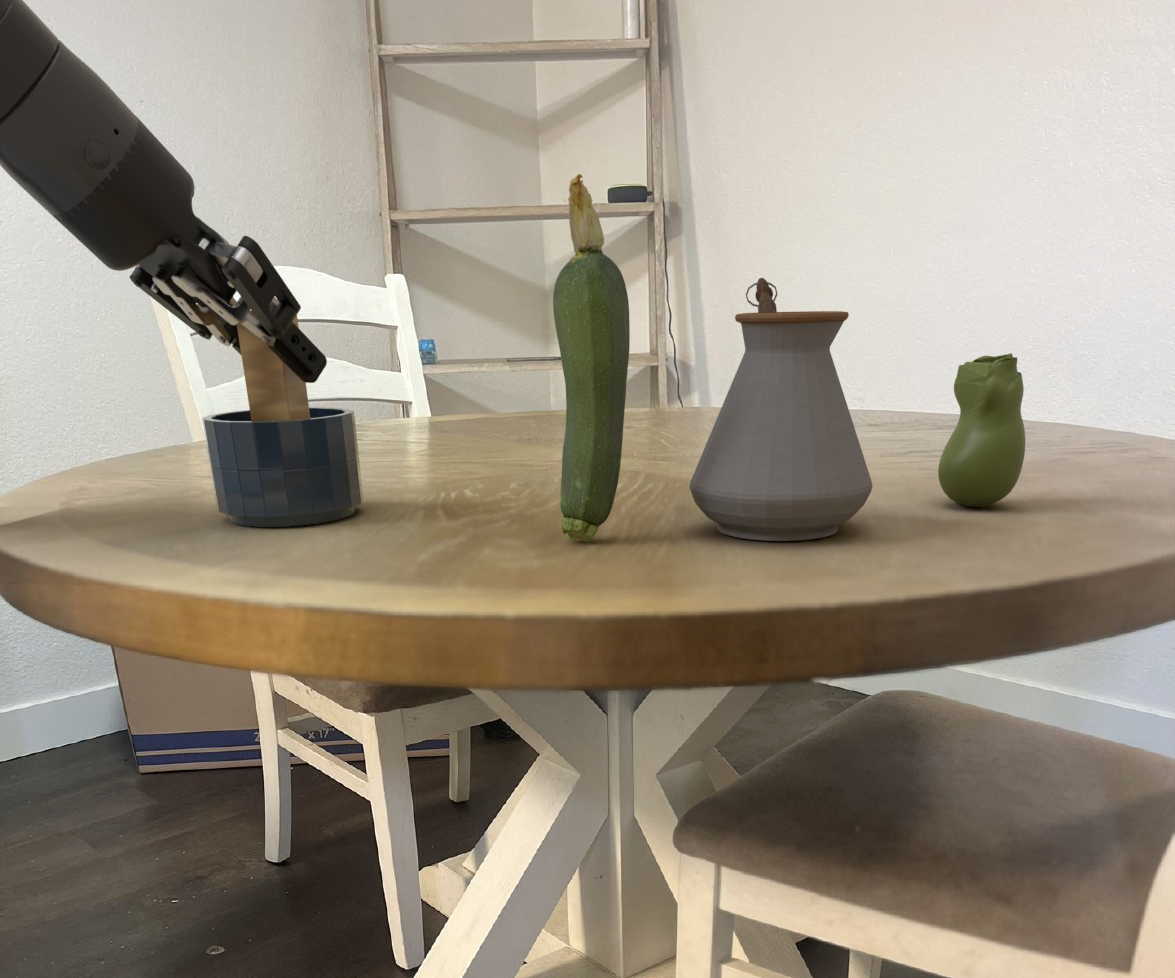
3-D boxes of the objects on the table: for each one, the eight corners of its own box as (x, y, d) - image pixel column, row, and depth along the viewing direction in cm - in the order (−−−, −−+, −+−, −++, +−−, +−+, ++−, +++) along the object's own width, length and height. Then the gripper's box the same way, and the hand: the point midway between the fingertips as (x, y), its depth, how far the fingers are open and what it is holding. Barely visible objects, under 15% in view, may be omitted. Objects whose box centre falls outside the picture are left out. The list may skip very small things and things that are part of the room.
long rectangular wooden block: (262, 495, 74) (234, 311, 69) (282, 489, 77) (256, 310, 72) (300, 496, 74) (275, 309, 69) (320, 489, 76) (296, 309, 71)
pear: (1031, 510, 72) (1055, 353, 67) (961, 515, 71) (982, 356, 66) (985, 497, 77) (1005, 350, 72) (919, 501, 76) (936, 352, 71)
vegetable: (596, 532, 68) (590, 181, 60) (645, 540, 66) (646, 174, 57) (546, 542, 66) (533, 176, 57) (595, 552, 63) (588, 169, 54)
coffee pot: (886, 547, 62) (913, 267, 56) (693, 549, 63) (699, 272, 56) (826, 488, 82) (841, 276, 75) (678, 491, 82) (682, 279, 76)
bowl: (191, 527, 73) (172, 422, 70) (264, 501, 82) (250, 407, 79) (325, 531, 70) (312, 422, 67) (386, 504, 79) (376, 407, 76)
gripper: (182, 92, 56) (387, 329, 69) (72, 126, 65) (272, 330, 78) (106, 199, 55) (330, 420, 68) (5, 219, 64) (220, 411, 77)
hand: (298, 371), depth 73 cm, fingers closed on long rectangular wooden block, 4 cm apart
